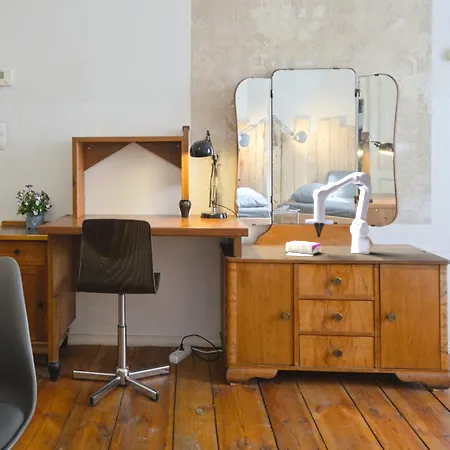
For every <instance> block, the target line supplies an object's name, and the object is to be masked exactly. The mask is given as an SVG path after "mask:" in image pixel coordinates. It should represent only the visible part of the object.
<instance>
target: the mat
mask: <svg viewBox="0 0 450 450" xmlns="http://www.w3.org/2000/svg"><path fill="white" fill-rule="evenodd" d="M314 254H315V253H314ZM314 254H304V253H295V252H287V253H286V255H285V256H291V257H292V256H293V257H294V256H295V257H314Z"/></svg>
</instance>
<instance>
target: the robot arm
mask: <svg viewBox="0 0 450 450" xmlns="http://www.w3.org/2000/svg"><path fill="white" fill-rule="evenodd" d="M350 184H354V185H355V186H356V187H357V188H358V189H359V190H360V194H359V200H358V205H357V208H356V209H357V210H356V211H357V212H356V216H355V219H354V220H353V221H352V224H351V225H350V227H349V229H350V230H349V231H350V234H351V250H350V253H351V254H364V255H365V254H366V255H367V254H368V255H369V254H370V251H371V248H370V240H371V239H370V236H368V234H369V231H370V230H369V223H368V221H367V217H368V211H369V207H370V205H369V204H370V200H371V194H372V189H373V187H372V183H371V176H370V175H369V174H368V172H353V173H351V174H349V175H347V176H345V177H344V178H342V179H340V180H339V181H337V182H335V183H334V182H328V183H327V185H325V186H321V187H320V189H315V190H314V191H313V194H312V198H313V202H314V203H313V205H314V206H313V219H305V224H311V225H313V226H314V229H315V231H316V234H317V235H316V236H317V238H321V235H322V232H323V229H324V226H325V225H334V220H333V219H331V220H330V219H325V218H326V200H327V198H329V197H330V196H332V195H334V194H336V193H337V192H338V191H339V189H340V188H343V187H345V186H347V185H350Z"/></svg>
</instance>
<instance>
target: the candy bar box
mask: <svg viewBox="0 0 450 450" xmlns="http://www.w3.org/2000/svg"><path fill="white" fill-rule="evenodd" d="M321 247H322V244H321V242H318V243H317V242H309V241H299V240H297V241H296V240H292V241H290V242H286V243H285V252H287V253H288V252H295V253H304V254H317V253H321V251H322V248H321Z"/></svg>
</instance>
